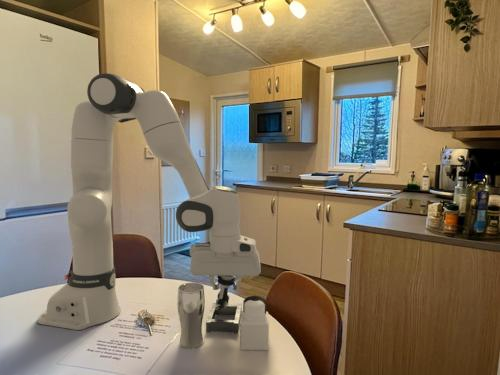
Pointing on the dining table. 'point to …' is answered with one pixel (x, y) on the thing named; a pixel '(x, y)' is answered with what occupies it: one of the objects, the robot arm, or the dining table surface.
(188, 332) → the beer glass
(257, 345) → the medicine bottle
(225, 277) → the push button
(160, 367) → the dining table surface
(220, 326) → the frame
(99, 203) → the robot arm
